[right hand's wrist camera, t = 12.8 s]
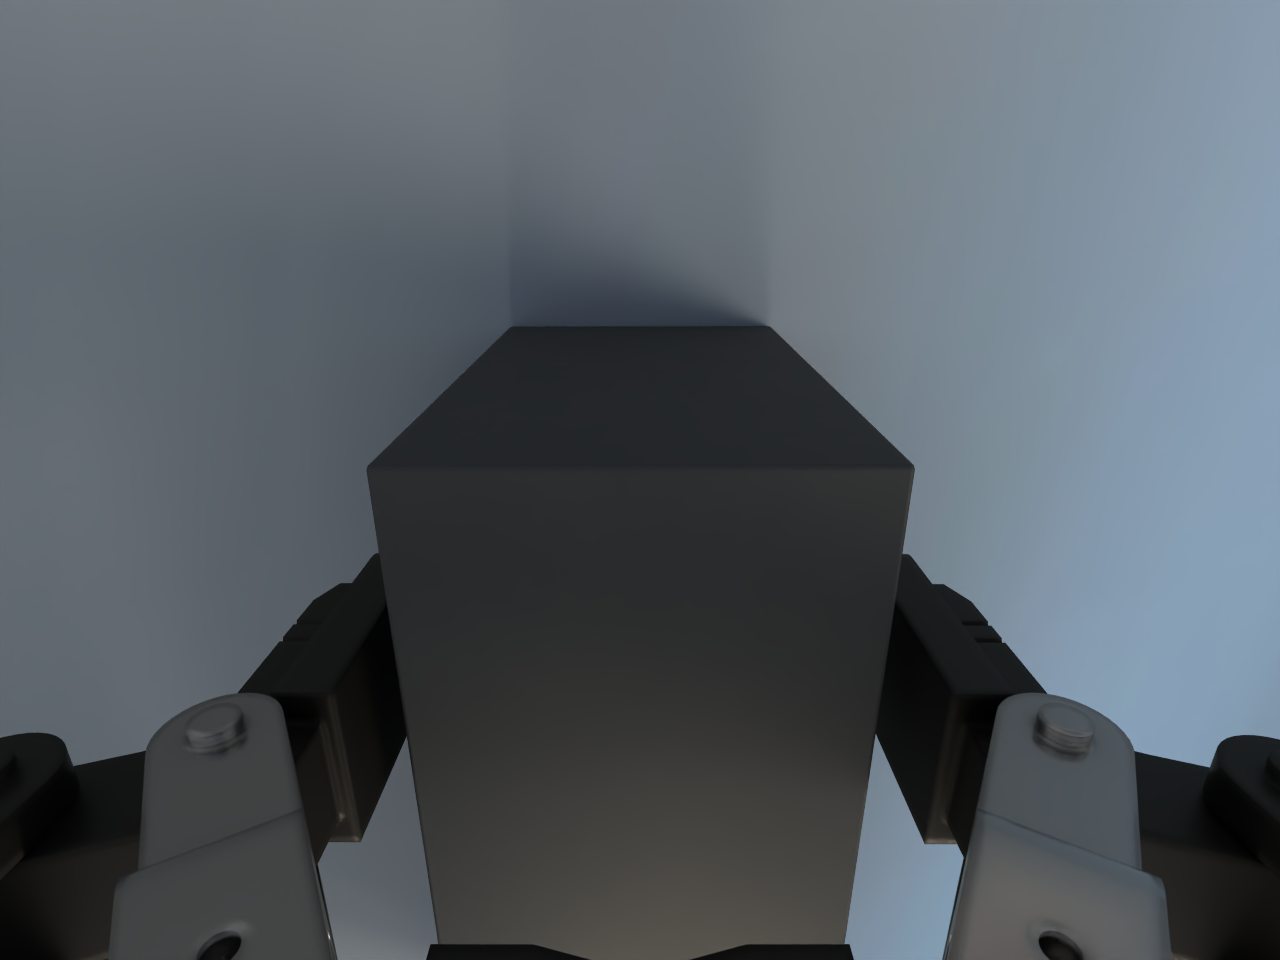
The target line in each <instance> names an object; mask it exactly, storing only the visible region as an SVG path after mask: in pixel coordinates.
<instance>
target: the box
mask: <svg viewBox="0 0 1280 960" xmlns="http://www.w3.org/2000/svg"><path fill="white" fill-rule="evenodd" d="M914 471H915V468H914V465H913V464H912V463H911V462H910V461H909V460H908V459H907V458H906V457H905V456H904V455H903V454H902V453H901V452H900V451H898V450H897V449H896V448H895V447H894V446H893V445H892V444H891V443H890V442H889V441H888V440H887V439H886V438H885V437H884V436H883V435H882V434H881V433H880V432H879V431H878V430H877V429H876V428H875V427H874V426H873V425H872V424H870V423H869V422H868V421H867V420H866V419H865V418H864V417H863V416H862V415H861V414H860V413H859V412H858V411H857V410H856V409H855V408H854V407H853V406H852V405H851V404H850V403H849V402H848V401H847V400H846V399H845V398H844V397H842V396H841V395H840V394H839V393H838V392H837V391H836V390H835V389H834V388H833V387H832V386H831V385H830V384H829V383H828V382H827V381H826V380H825V379H824V378H823V377H822V376H821V375H820V374H819V373H818V372H817V371H816V370H814V369H813V368H812V367H811V366H810V365H809V364H808V363H807V362H806V361H805V360H804V359H803V358H802V357H801V356H800V355H799V354H798V353H797V352H796V351H795V350H794V349H793V348H792V347H791V346H790V345H789V344H788V343H786V342H785V341H784V340H783V339H782V338H781V337H780V336H779V335H778V334H777V333H776V332H775V331H774V330H773V329H772V328H771V327H769V326H710V327H511V328H509V329H508V330H507V331H506V332H505V333H504V334H503V335H502V336H501V337H500V338H499V339H498V340H497V341H496V342H495V343H494V344H493V345H492V346H491V347H490V348H489V349H488V350H487V351H486V352H485V353H484V354H483V355H482V356H480V357H479V358H478V359H477V360H476V361H475V362H474V363H473V364H472V365H471V366H470V367H469V368H468V369H467V370H466V371H465V372H464V373H463V374H462V375H461V376H460V377H459V378H458V379H457V380H456V381H455V382H454V383H453V384H452V385H451V386H450V387H449V388H448V389H447V390H445V391H444V392H443V393H442V394H441V395H440V396H439V397H438V398H437V399H436V400H435V401H434V402H433V403H432V404H431V405H430V406H429V407H428V408H427V409H426V410H425V411H424V412H423V413H422V414H421V415H420V416H419V417H418V418H417V419H416V420H415V421H414V422H413V423H412V424H411V425H409V426H408V427H407V428H406V429H405V430H404V431H403V432H402V433H401V434H400V435H399V436H398V437H397V438H396V439H395V440H394V441H393V442H392V443H391V444H390V445H389V446H388V447H387V448H386V449H385V450H384V451H383V452H382V453H381V454H380V455H379V456H378V457H377V458H376V459H375V460H373V461H372V462H371V463H370V464H369V465H368V467H367V476H368V482H369V489H370V496H371V502H372V509H373V515H374V522H375V529H376V535H377V542H378V548H379V555H380V561H381V568H382V575H383V581H384V588H385V594H386V601H387V608H388V614H389V621H390V627H391V634H392V641H393V647H394V654H395V660H396V667H397V673H398V680H399V687H400V693H401V700H402V706H403V713H404V720H405V726H406V733H407V739H408V746H409V753H410V759H411V766H412V772H413V779H414V786H415V792H416V799H417V805H418V812H419V818H420V825H421V832H422V838H423V845H424V851H425V858H426V865H427V871H428V878H429V884H430V891H431V898H432V904H433V911H434V917H435V924H436V930H437V937H438V944H534V945H538V946H542V947H545V948H549V949H553V950H556V951H560V952H564V953H568V954H571V955H575V956H579V957H582V958H586V959H590V960H690V959H694V958H698V957H701V956H705V955H709V954H712V953H716V952H720V951H724V950H727V949H731V948H735V947H738V946H742V945H746V944H844V943H845V936H846V929H847V922H848V916H849V909H850V902H851V896H852V889H853V882H854V875H855V869H856V862H857V855H858V848H859V842H860V835H861V828H862V821H863V815H864V808H865V801H866V794H867V788H868V781H869V774H870V767H871V761H872V754H873V747H874V740H875V734H876V727H877V720H878V713H879V707H880V700H881V693H882V687H883V680H884V673H885V666H886V660H887V653H888V646H889V639H890V633H891V626H892V619H893V612H894V606H895V599H896V592H897V585H898V579H899V572H900V565H901V558H902V552H903V545H904V538H905V531H906V525H907V518H908V511H909V504H910V498H911V491H912V484H913V478H914Z"/></svg>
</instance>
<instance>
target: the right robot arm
mask: <svg viewBox="0 0 1280 960" xmlns="http://www.w3.org/2000/svg"><path fill="white" fill-rule="evenodd" d="M876 735H877V737H878V740H879V742H880V744H881V746H882V749H883V751H884V753H885V755H886V758H887V760H888V762H889V764H890V767H891V769H892V771H893V773H894V776H895V778H896V780H897V782H898V785H899V787H900V789H901V791H902V794H903V796H904V798H905V800H906V803H907V805H908V807H909V809H910V812H911V814H912V816H913V819H914V821H915V823H916V825H917V828H918V830H919V832H920V834H921V837H922V839H923V841H924V843H925V844H958V846H959V848H960V851H961V853H962V855H963V857H964V859H963V864H962V868H961V872H960V877H959V881H958V886H957V891H956V896H955V901H954V906H953V910H952V915H951V920H950V925H949V930H948V935H947V939H946V944H945V949H944V954H943V959H942V960H1280V740H1279V739H1274V738H1270V737H1263V736H1256V735H1240V736H1233V737H1230V738H1227V739H1225V740H1223V741H1222V742H1221V743H1220V744H1219V745H1218V747H1217V750H1216V753H1215V755H1214V758H1213V761H1212V763H1211V766H1210V768H1209V767H1204V766H1200V765H1195V764H1190V763H1186V762H1181V761H1176V760H1171V759H1167V758H1162V757H1157V756H1153V755H1148V754H1144V753H1140V752H1136V751H1134V749H1133V746H1132V744H1131V742H1130V740H1129V738H1128V737H1127V736H1126V734H1125V733H1124V732H1123V731H1122V730H1121V729H1120V728H1119V727H1118V726H1117V725H1116V724H1115V723H1113V722H1112V721H1111V720H1110V719H1108V718H1107V717H1105V716H1104V715H1102V714H1101V713H1099V712H1097V711H1095V710H1094V709H1092V708H1090V707H1088V706H1086V705H1083V704H1081V703H1078V702H1076V701H1073V700H1070V699H1067V698H1064V697H1060V696H1056V695H1050V694H1047V693H1046V691H1045V690H1044V689H1043V688H1042V687H1041V685H1040V684H1039V683H1038V682H1037V681H1036V679H1035V678H1034V677H1033V676H1032V674H1031V673H1030V672H1029V671H1028V670H1027V668H1026V667H1025V666H1024V665H1023V664H1022V662H1021V661H1020V660H1019V659H1018V658H1017V656H1016V655H1015V654H1014V653H1013V652H1012V650H1011V649H1010V648H1009V647H1008V645H1007V644H1006V643H1002V638H1001V637H1000V636H999V635H998V633H997V632H996V631H995V630H994V629H993V627H992V626H988V621H987V620H986V619H985V618H984V616H983V615H982V614H981V613H980V612H979V610H978V609H977V608H976V607H975V606H974V604H973V603H972V602H971V601H969V600H968V599H966V598H965V597H963V596H962V595H960V594H958V593H957V592H955V591H954V590H952V589H950V588H949V587H947V586H946V585H944V584H932V583H931V582H930V581H929V579H928V578H927V577H926V575H925V574H924V573H923V571H922V570H921V569H920V567H919V566H918V565H917V563H916V562H915V561H914V560H913V558H912V557H911V556H910V555H908V554H902V558H901V565H900V572H899V579H898V585H897V592H896V599H895V606H894V612H893V619H892V626H891V633H890V639H889V646H888V653H887V660H886V666H885V673H884V680H883V687H882V693H881V700H880V707H879V713H878V720H877V727H876ZM406 736H407V733H406V726H405V720H404V713H403V706H402V700H401V693H400V687H399V680H398V673H397V667H396V660H395V654H394V647H393V641H392V634H391V627H390V621H389V614H388V608H387V601H386V594H385V588H384V581H383V575H382V568H381V561H380V555H379V553H376V554H374V555H373V556H372V557H371V559H370V560H369V561H368V563H367V564H366V565H365V567H364V568H363V569H362V571H361V572H360V573H359V575H358V576H357V577H356V579H355V580H354V581H353V583H340V584H339V585H337V586H335V587H334V588H332V589H331V590H329V591H327V592H326V593H324V594H323V595H321V596H320V597H318V598H316V599H315V600H313V601H312V603H311V604H310V605H309V606H308V608H307V609H306V610H305V611H304V612H303V614H302V615H301V616H300V617H299V619H298V620H297V624H294V625H293V626H292V627H291V628H290V630H289V631H288V632H287V633H286V634H285V636H284V637H283V641H280V642H279V643H278V644H277V645H276V647H275V648H274V649H273V650H272V652H271V653H270V654H269V655H268V656H267V658H266V659H265V660H264V661H263V663H262V664H261V665H260V666H259V667H258V669H257V670H256V671H255V672H254V673H253V675H252V676H251V677H250V678H249V680H248V681H247V682H246V683H245V684H244V686H243V687H242V688H241V689H240V691H239V692H238V693H236V694H230V695H224V696H220V697H216V698H213V699H210V700H207V701H204V702H202V703H199V704H197V705H194V706H192V707H190V708H188V709H186V710H185V711H183V712H181V713H179V714H178V715H176V716H175V717H173V718H172V719H170V720H169V721H168V722H167V723H165V724H164V725H163V726H162V727H161V728H160V729H159V730H158V731H157V732H156V733H155V734H154V736H153V737H152V738H151V740H150V742H149V744H148V746H147V749H146V751H143V752H138V753H134V754H129V755H124V756H120V757H115V758H110V759H105V760H101V761H96V762H91V763H87V764H82V765H77V766H73V764H72V762H71V759H70V756H69V753H68V751H67V748H66V745H65V743H64V742H63V741H62V739H60V738H58V737H57V736H54V735H51V734H46V733H24V734H17V735H12V736H7V737H3V738H0V960H338V959H337V954H336V949H335V944H334V939H333V935H332V930H331V925H330V920H329V915H328V910H327V906H326V901H325V896H324V891H323V886H322V881H321V877H320V872H319V868H318V862H319V860H320V858H321V856H322V854H323V852H324V850H325V848H326V846H327V843H328V842H361V839H362V837H363V835H364V833H365V830H366V828H367V826H368V823H369V821H370V819H371V816H372V814H373V812H374V810H375V807H376V805H377V803H378V800H379V798H380V796H381V794H382V791H383V789H384V787H385V784H386V782H387V780H388V778H389V775H390V773H391V771H392V768H393V766H394V764H395V761H396V759H397V757H398V755H399V752H400V750H401V748H402V745H403V743H404V741H405V739H406ZM426 960H590V959H586V958H582V957H579V956H575V955H571V954H568V953H564V952H560V951H556V950H553V949H549V948H545V947H542V946H538V945H534V944H431V945H430V948H429V952H428V955H427V959H426ZM690 960H854V959H853V955H852V952H851V948H850V945H849V944H746V945H742V946H738V947H735V948H731V949H727V950H724V951H720V952H716V953H712V954H709V955H705V956H701V957H698V958H694V959H690Z"/></svg>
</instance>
